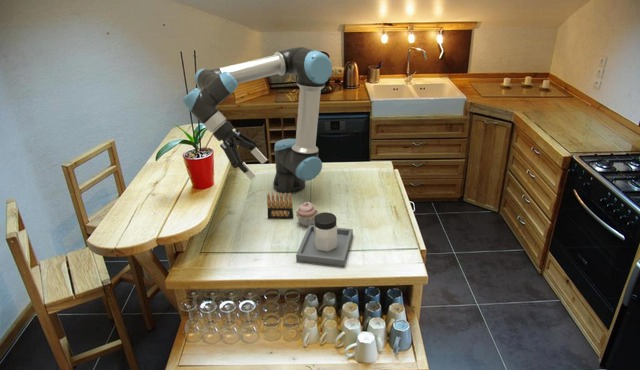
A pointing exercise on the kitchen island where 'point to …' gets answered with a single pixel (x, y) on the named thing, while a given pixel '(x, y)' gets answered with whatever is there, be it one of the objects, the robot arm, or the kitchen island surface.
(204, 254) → the kitchen island surface
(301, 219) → the cupcake
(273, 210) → the ammunition clip
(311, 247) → the tray
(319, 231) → the jar
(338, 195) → the kitchen island surface
